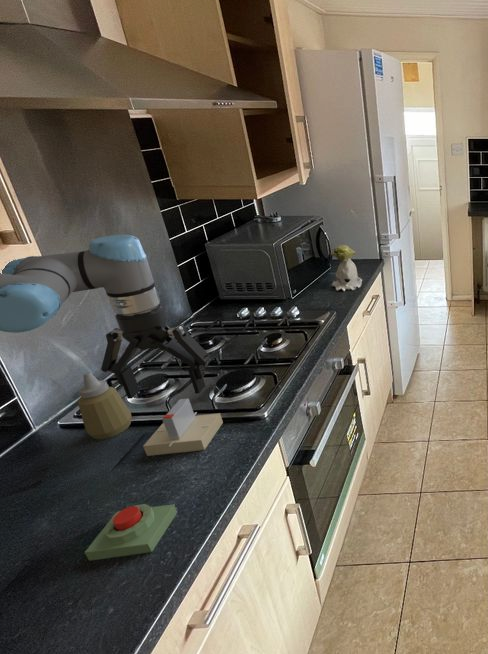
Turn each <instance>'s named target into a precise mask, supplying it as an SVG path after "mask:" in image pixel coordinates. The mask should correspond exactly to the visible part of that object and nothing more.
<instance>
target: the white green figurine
mask: <svg viewBox="0 0 488 654" xmlns="http://www.w3.org/2000/svg"><path fill="white" fill-rule="evenodd" d="M330 255H331V256H332V257H333V258H336V259H337V260H338V261H339V262H340V263H339V264H338V268H337V269H336V272H335V278H336V279H337V280H334V281H333V282H332V283H331V286H332V287H335V291H340V290H342V291H343V292H345V291H346V290H348V291H350V290H351V291H354V290H357V288H361V286H362V284H363V279H362V278H361V277H359V275H358V270H357V266H356V264H355V263H354V262H353V261H352V259H351V258H353V257H354V256H355V255H356V251H355V250H354V249H352V248H351V247H349V245H346V244H341V245H338V246H334V249H333V252H331V253H330ZM347 280H349V281H348V282H347Z"/></svg>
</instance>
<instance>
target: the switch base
mask: <svg viewBox="0 0 488 654" xmlns="http://www.w3.org/2000/svg"><path fill="white" fill-rule="evenodd" d="M197 413H198V412H197V411H195V412H194V415H195V419H194V421H193V422H192V423H191V425H190V426H189V427H188V429H187V430H186V431H185V433H184V434H183V435H182V437H181V438H180V439H174V440H170V438H169V435H168V433H167V430H166V428H165V425H164V423H163V422H162V424H161V425H160V426H159V427H158V428H157V429H156V431H154V433H152V435H151V436H150V438H149V439H147V441H146V442H145V443H144V444H143V449H144V452H145V454H146V457H150V456H160V455H168V454H178V453H188V452H197V451H205V450H206V449H207V447H208V446H209V444H210V443H211V442H212V440H213V438H214V437H215V435H216V434H217V433H218V431H219V430H220V428H221V427H222V425H223V423H224V421H223V418H222V415H221V413H220V412H219V413H209V414H198V415H197Z"/></svg>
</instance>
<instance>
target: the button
mask: <svg viewBox="0 0 488 654" xmlns="http://www.w3.org/2000/svg"><path fill="white" fill-rule="evenodd" d="M119 511H120V512H119V513H118V514H117V515H116V516H115V517H114V519H113V523H114V525H115V527H116V529H117V530H118V531H124V530H126V529H128V528H131V527H133V526H134V525H135V524H136V523H138V522H139V521H140V519H141V517H142V514H141V512H140V510H139V508H138V507H136V506H135V505H133V506H128V507H126V508H124V509H121V510H119Z"/></svg>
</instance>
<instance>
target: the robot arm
mask: <svg viewBox="0 0 488 654" xmlns="http://www.w3.org/2000/svg"><path fill="white" fill-rule="evenodd" d="M12 260H13V261H11V262H9V263H8V264H7V265H6V266H5V268H4V269H3V270H2V269H1V270H2V274H1V273H0V332H3V333H11V334H12V333H14V334H15V333H18V334H19V333H25V332H26V333H27V332H30V331H33V330H36V329H38V328H40V327H42V326H43V325H44V324H46V323H47V322H48V321H49V320H50V319H52V318H53V317H54V316H55V315H57V313H58V311H59V310H60V309H61V306H62V305H63V303H64V302H65V301H66V300H67V299H68V298H69V297H70V296H71V295H72V294H73V293H78V292H83V291H89V290H95V289H96V290H97V289H99V288H103V289H104V291H105V293H106V296H107V298H108V301H109V304H110V305H111V308H112V311H113V313H114V314H115V320H116V322H117V325H118V327H115V328H113V329H112V330H111V331H109V332H107V333H106V334H105V338H106V342H107V345H106V348H105V351H104V356H103V360H102V364H101V367H100V370H101V371H102V372H103V373H107V372H111V373H112V374H114V375H115V378H116V380H117V382H118V384H119V385H121V386H122V387H123V389H124V393H125V395H126V397H127V399H128V400H130V399H133V398H134V397H135V396H137V395H138V393H139V392H141V390H140V387H139V385H138V382H137V379H136V377H135V373H134V370H133V368H132V366H128V365H129V362H130V361H131V359H132V358H133V356H135V354H136V352H137V351H138V349H139V350H141V351H144V350H145V351H146V350H157V349H159V350H161V351H163V352H167V353H169V354H170V355H172V356H173V357H175V358H177V359H178V360H179V361H181V362H183V363H184V364H186V365H188V366H189V367H188V369H187V372H188V374H189V377H190V380H191V383H192V387H193V389H194V393H195V394H200V393H201V392H202V391H203V390H204V388H205V387H206V384H205V380H204V376H206V372H205V368H204V366H205V365H206V364H207V363H208V361H210V360H211V355H210V354H209V353H208V352H207V351H206V350H205V349H204V348H203V347H202V345H200V344H199V342H198V341H196V340H195V338H194V337H192V335H191V334H190V333H189V332H188V330H187V327H186V326H185V325H184V324H181V323H180V324H179V325H177V326H175V327H170V326H168V325H167V317H166V314H165V310H164V308H163V305H162V304H161V302H162V301H161V298H160V296H159V291H158V289H157V286H156V283H155V281H154V277H153V274H152V271H151V268H150V264H149V261H148V256H147V254H146V253H145V251H144V247H143V246H142V244H141V241H140V239H139V238H138V237H137V236H135V235H131V234H112V235H108V236H101V237H97V238H94V239H92V240H91V241H90V242H89V243H88V249H86V250H83V251H74V252H63V253H54V254H47V255H35V256H34V255H29V256H27V257H23V258H17V260H16V259H12ZM123 339H124V340H125V341H126V342H129V344H128V345H127V346H126V347H125V349H124V352H123V353H122V355H121V356H120V357H119V353H120V349H121V345H122V342H123ZM166 342H167V343H166ZM165 343H166V344H165ZM118 357H119V359H118Z"/></svg>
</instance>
